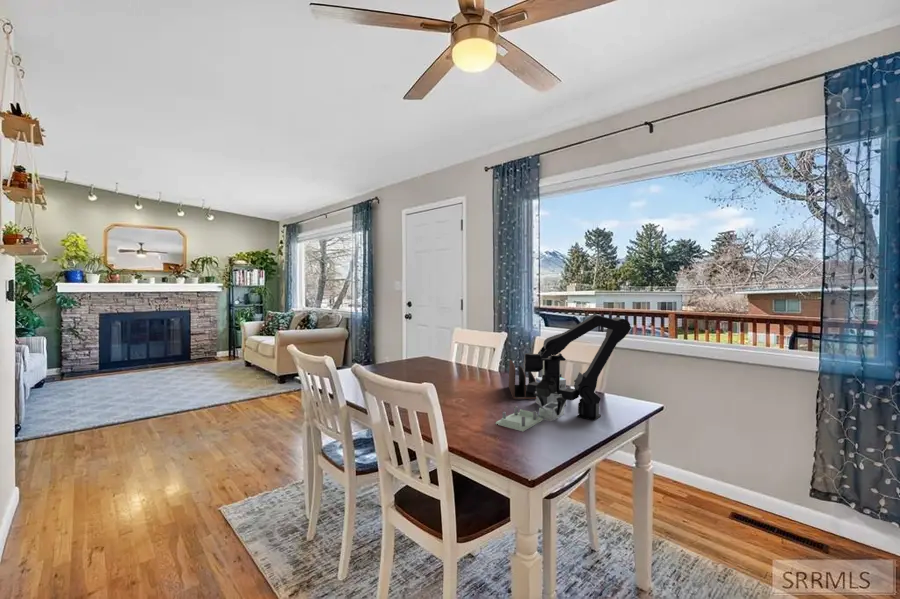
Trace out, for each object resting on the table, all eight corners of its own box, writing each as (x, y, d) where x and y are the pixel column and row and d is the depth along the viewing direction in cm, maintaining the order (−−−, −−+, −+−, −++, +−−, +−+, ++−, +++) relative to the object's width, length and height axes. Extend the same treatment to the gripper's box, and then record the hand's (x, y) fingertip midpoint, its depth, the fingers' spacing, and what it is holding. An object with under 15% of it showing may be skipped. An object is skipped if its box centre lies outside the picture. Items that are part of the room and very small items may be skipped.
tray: (542, 420, 152) (542, 409, 151) (522, 431, 141) (522, 420, 141) (516, 413, 159) (516, 404, 159) (495, 424, 148) (495, 413, 148)
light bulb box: (559, 400, 175) (559, 375, 174) (566, 405, 168) (566, 379, 167) (535, 402, 173) (535, 376, 172) (541, 407, 166) (541, 380, 165)
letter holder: (513, 400, 177) (513, 367, 176) (508, 387, 197) (508, 357, 196) (536, 400, 176) (536, 367, 176) (529, 387, 196) (530, 357, 195)
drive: (563, 414, 158) (563, 403, 158) (551, 421, 150) (551, 410, 150) (551, 411, 161) (551, 401, 161) (539, 418, 154) (539, 407, 153)
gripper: (518, 372, 155) (518, 413, 156) (566, 380, 143) (565, 425, 144) (533, 367, 163) (533, 406, 164) (579, 374, 151) (579, 416, 152)
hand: (551, 413), depth 156 cm, fingers closed on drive, 5 cm apart
